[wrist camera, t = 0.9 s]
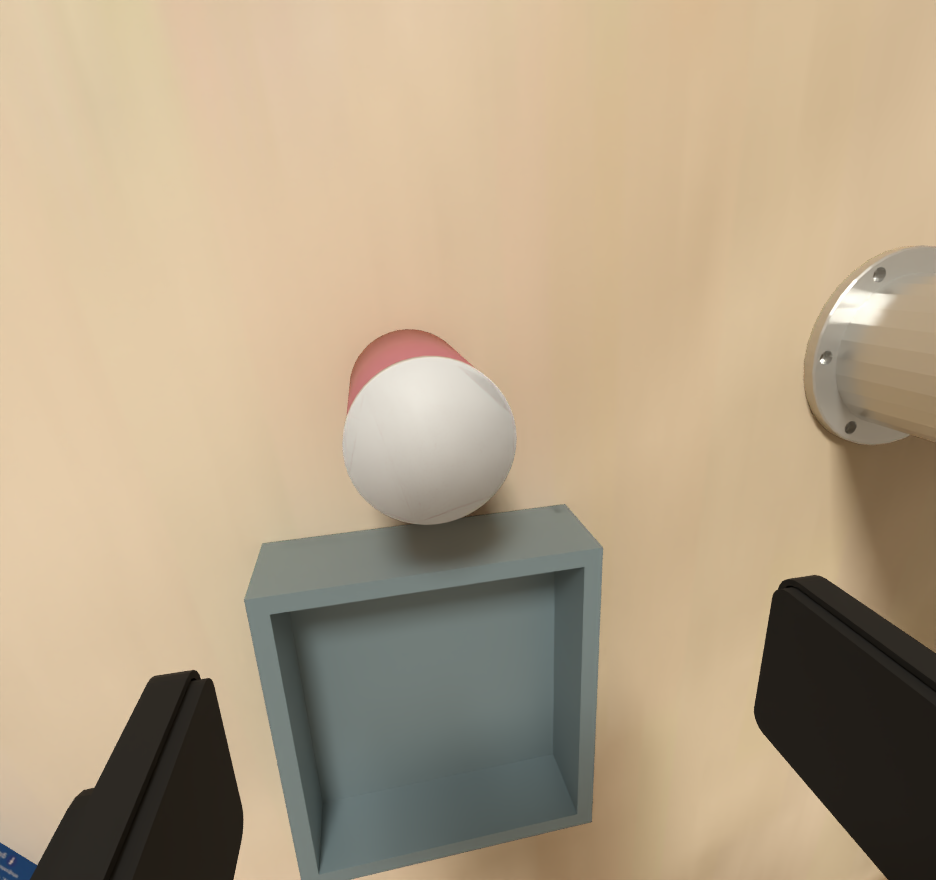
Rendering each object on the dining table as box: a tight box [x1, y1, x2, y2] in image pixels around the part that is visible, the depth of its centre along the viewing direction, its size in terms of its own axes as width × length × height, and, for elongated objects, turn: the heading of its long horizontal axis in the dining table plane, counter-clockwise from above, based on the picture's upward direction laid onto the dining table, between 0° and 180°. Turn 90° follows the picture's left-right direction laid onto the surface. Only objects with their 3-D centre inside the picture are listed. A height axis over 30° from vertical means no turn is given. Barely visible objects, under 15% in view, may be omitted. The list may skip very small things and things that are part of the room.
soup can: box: [343, 329, 516, 525], centre depth 25 cm, size 6×6×10 cm
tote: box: [244, 504, 603, 880], centre depth 33 cm, size 18×20×6 cm
